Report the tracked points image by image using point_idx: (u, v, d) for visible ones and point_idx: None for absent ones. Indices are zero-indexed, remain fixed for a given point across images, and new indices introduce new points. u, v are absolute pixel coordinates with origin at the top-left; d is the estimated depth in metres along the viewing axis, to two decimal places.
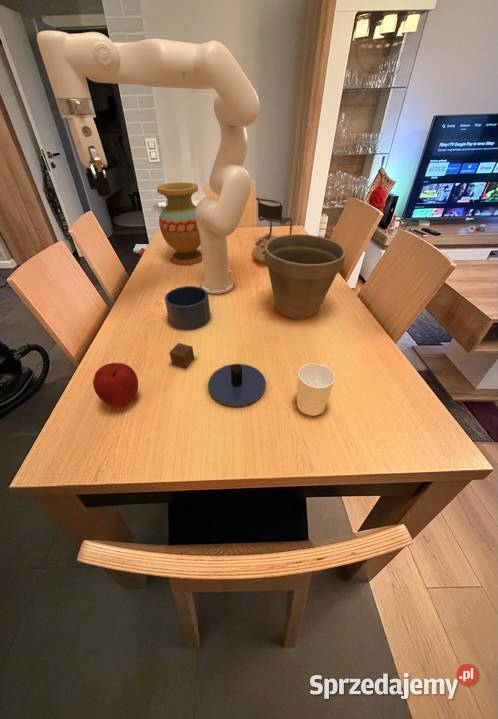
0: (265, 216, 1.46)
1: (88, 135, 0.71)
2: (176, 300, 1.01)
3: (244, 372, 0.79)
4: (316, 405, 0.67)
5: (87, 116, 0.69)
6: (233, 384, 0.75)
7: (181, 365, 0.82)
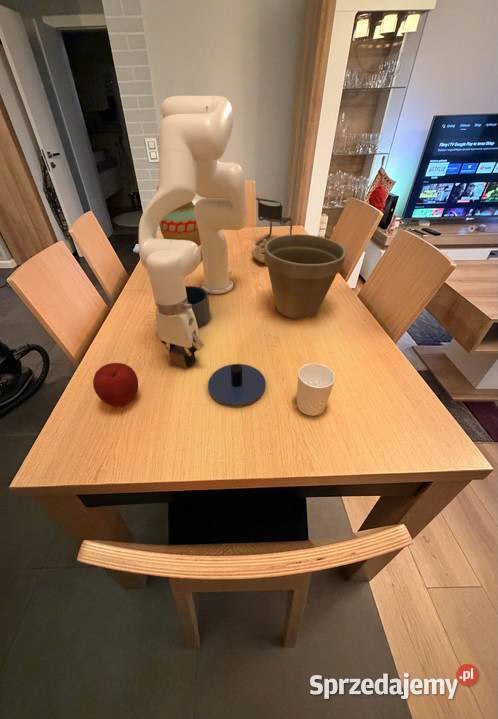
0: (265, 216, 1.46)
1: (188, 322, 0.74)
2: None
3: (244, 372, 0.79)
4: (316, 405, 0.67)
5: (188, 308, 0.73)
6: (233, 384, 0.75)
7: (181, 365, 0.82)
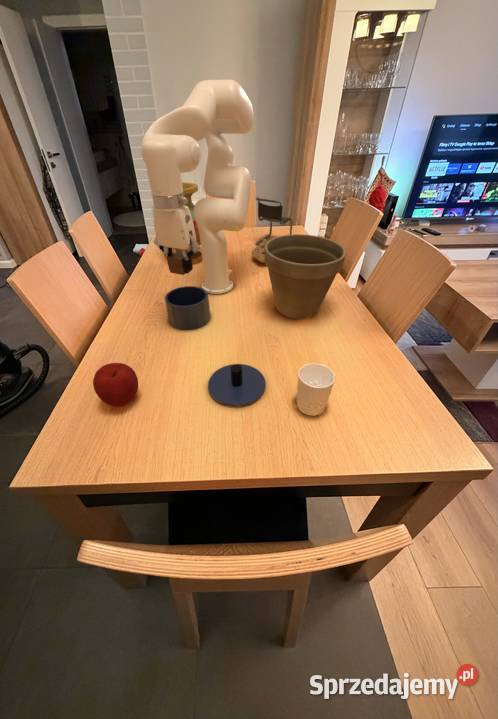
0: (265, 216, 1.46)
1: (185, 221, 0.77)
2: (176, 300, 1.01)
3: (244, 372, 0.79)
4: (316, 405, 0.67)
5: (184, 206, 0.75)
6: (233, 384, 0.75)
7: (179, 271, 0.84)
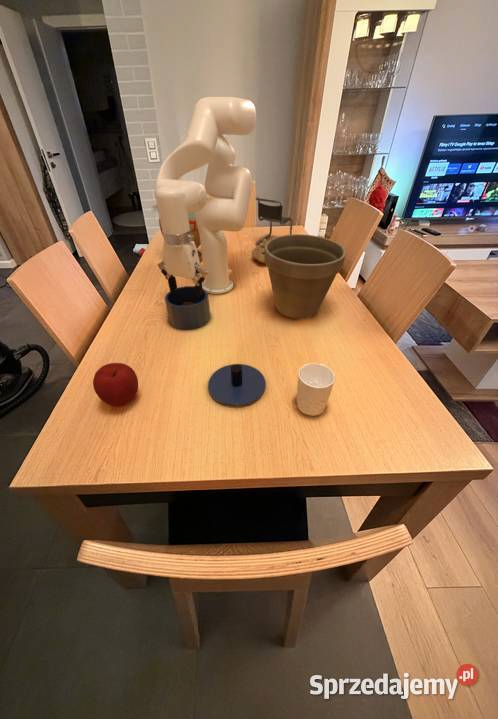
0: (265, 216, 1.46)
1: (191, 255, 0.86)
2: (176, 300, 1.01)
3: (244, 372, 0.79)
4: (316, 405, 0.67)
5: (191, 241, 0.84)
6: (233, 384, 0.75)
7: None
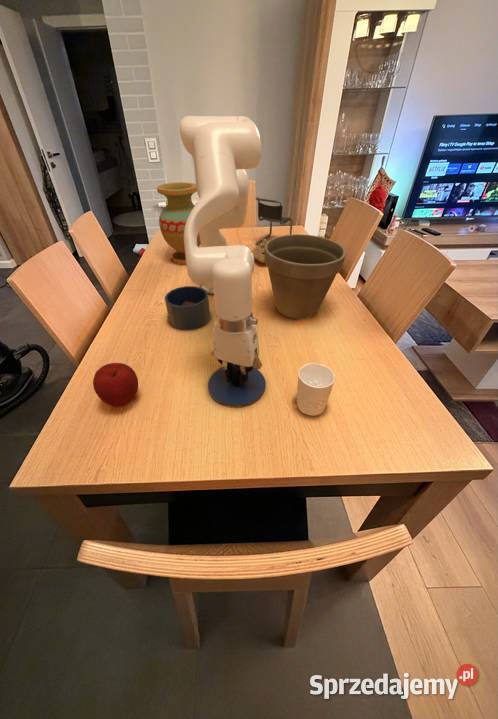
0: (265, 216, 1.46)
1: None
2: (176, 300, 1.01)
3: None
4: (316, 405, 0.67)
5: None
6: (233, 384, 0.75)
7: None
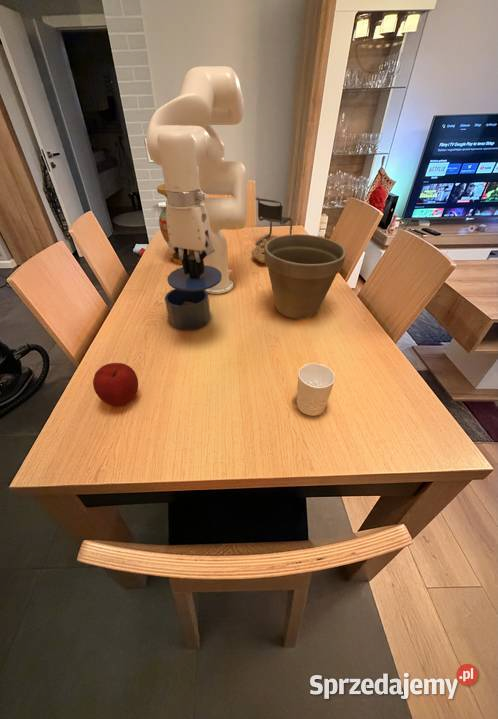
0: (265, 216, 1.46)
1: None
2: (176, 300, 1.01)
3: None
4: (316, 405, 0.67)
5: (200, 203, 0.69)
6: (190, 276, 0.80)
7: None
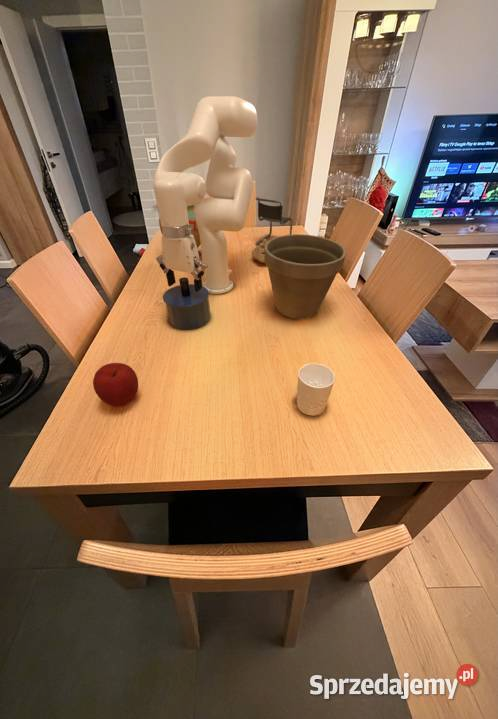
0: (265, 216, 1.46)
1: (190, 248, 0.85)
2: None
3: (193, 288, 0.98)
4: (316, 405, 0.67)
5: (190, 235, 0.83)
6: (182, 294, 0.94)
7: None
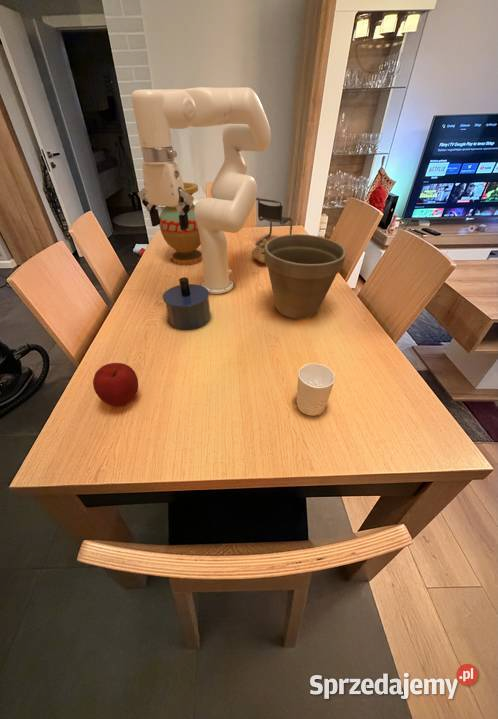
0: (265, 216, 1.46)
1: (174, 177, 0.77)
2: None
3: (193, 288, 0.98)
4: (316, 405, 0.67)
5: (173, 161, 0.76)
6: (182, 294, 0.94)
7: None
